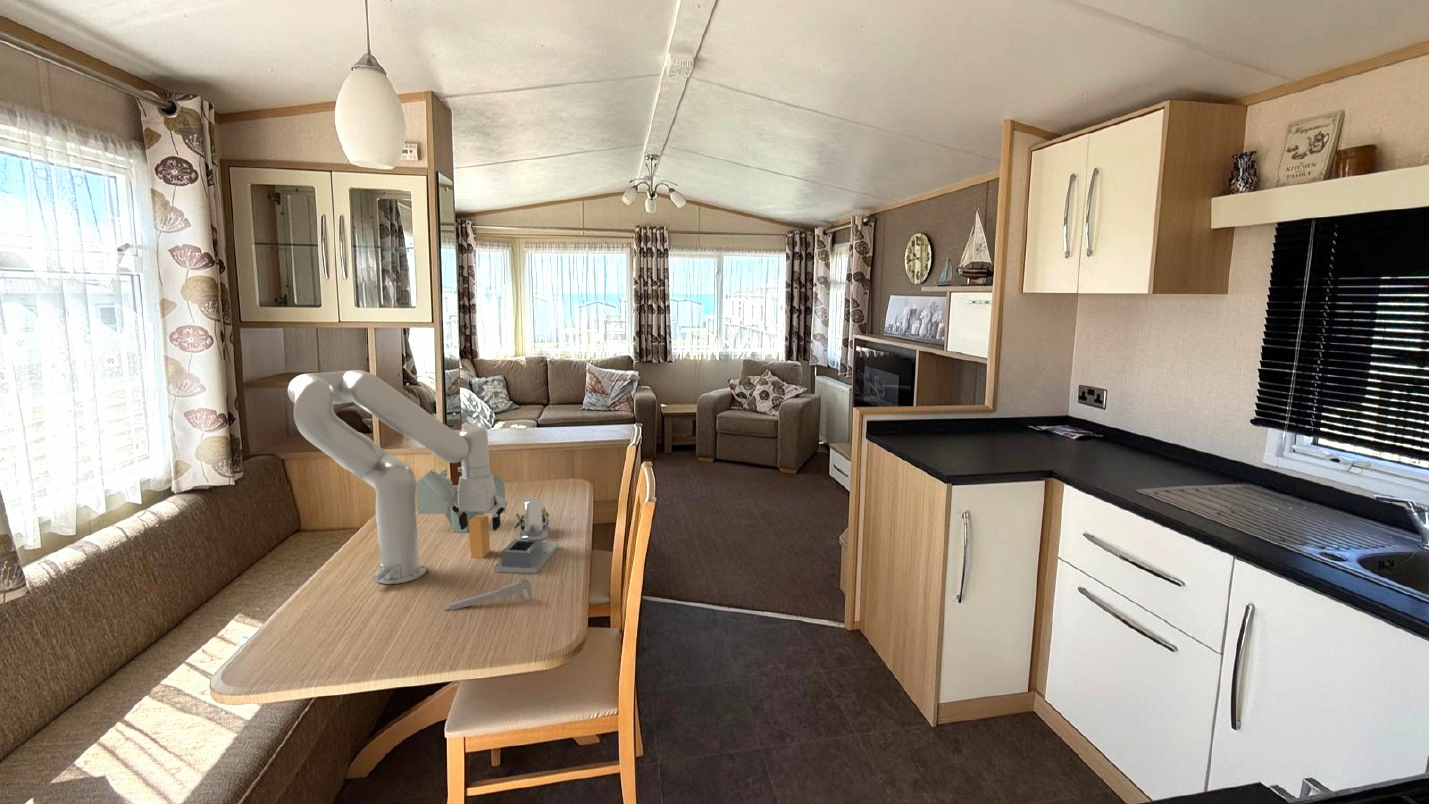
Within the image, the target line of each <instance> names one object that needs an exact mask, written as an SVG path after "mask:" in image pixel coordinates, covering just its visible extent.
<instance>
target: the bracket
mask: <svg viewBox="0 0 1429 804" xmlns="http://www.w3.org/2000/svg"><path fill="white" fill-rule="evenodd" d="M492 476H493V479H494V482H495V487H496V492H497V495H498V496H500V497H501V498H503V499H505V500H506V493H505V492H506V490H505V489H506V488H505V487H506V486H505V480H503V479H502V478H500V477H499V476H497V475H496V476H495V475H493V474H492ZM447 477H448V467H445V468H444V469H443V470H442V471H441V472H440V473H438V472H437V471H436V469H434V468H432V469H431V470H430V471H429V472H427V473H426V474H425V475H424V476H422V477H421V478H420V479H418V480H416V499H417V500H416V501H417V513H418V515H444V516H445V518H446V519H447V521H448V522H449V524H450V526H451V529H452V533H469V520H470V519H472V518H473V517H475V516H476V515H485V514H491V512H490V511H489V512H466V511H465V513H467V520H468V526H467V527H466V528H465V529H463V530H461V528H460V525H459V516H457V514H456V513H455V512H454V511H453V510H452V507H451V505H450V504H449V500H451V499H453V498H455V497H457V496H458V485H456V484H455V485H453V484H454V483H453V481H452V480H451V479H450V478H447ZM456 504H457V505H458V501H456ZM497 507H498V508H499V509H500V507H501V504H500V503H498V502H497ZM506 510H507V508H506V509H505V510H504V511H503V512H502V513H501V514H505V513H507V511H506Z"/></svg>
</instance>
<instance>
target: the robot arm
mask: <svg viewBox="0 0 1429 804" xmlns="http://www.w3.org/2000/svg"><path fill="white" fill-rule="evenodd" d="M287 395H288V397H289V400H290V401H291V402H292V403H293V404H294V405H293V419H294V420H293V421H294V424H295V427H296V428H297V430H298V431H299V433H300V434H301V436H302V437H304V438H305V440H307V441H308V442H309V443H310V444H312V445H313V446H315V447H316V448H317V449H319V450H320V451H322V452H323V453H324V454H325V455H327V456H328V457H330V458H331V459H333V461H335V462H336V463H337V464H338V465H339V466H340V467H342V468H343V469H344V470H347V471H349V472H350V473H351V474H353V475H355V476H356V477H358V478H359V479H360V480H362V481H364V482H365V483H367V484H368V485H369V486H371V487H372V488H373V489H374V490H375V521H376V528H377V529H376V532H377V542H378V554H379V564H380V565H378V568H379V569H378V570H377V571H376V572H375V573H374V574H373V575H372V576H371V581H372V582H373V583H379V584H382V585H383V584H384V585H398V584H404V583H407V582H410V581H411V582H412V581H414V580H416V579H419V578H421V577H423V576H424V574H426V572H427V566H426V564H424V563H423V562H421V561H420V551H419V538H418V526H417V524H418V523H417V514H416V512H417V511H416V492H417V488H416V482H417V479H416V475H415V472H414V470H413V469H412V467H410V466H409V464H408V463H406V462H404V461H402V460H401V459H399V458H398V457H395V456H394V455H392V454H391V453H389V452H388V451H387V450H385V449H384V448H383V447H381V446H380V445H379V444H377V443H376V442H374V440H373V439H371V438H370V437H369V436H367V435H366V434H364V433H362V432H359V431H357V430H356V429H355V428H353V427H352V426H350V425H349V424H348V423H346V421H345V420H343V419H341V418H340V417H339V416H337V414H336V412H335V410H334V405H339V404H347V403H354V404H355V405H357V406H359V408H361V409H362V410H364V411H366V412H367V413H369V414H370V415H372V416H373V417H375V418H376V419H378V420H379V421H380V422H382V423H384V424H385V425H386V426H388V427H389V428H391V429H393V430H394V431H396V432H397V433H399V434H400V435H403V436H405V437H406V438H410V439H411V440H414V441H415V442H417V443H418V444H420V445H422V446H423V447H425V448H427V449H428V450H429V452H431V453H430V454H433V455H434V456H435V457H438V458H439V459H441V460H442V461H444V462H447V463H449V464H450V463H451V464H457V463H461V466H459V467H457V472H460V474H461V475H460V476H459V479H458V496H457V497H455V498H453V499H451V500H449V504H450V505H451V507H452V510H453V511H454V512H455V513H456V514H457V516H459V525H460V528H461V530H463V529H465V528H466V527H467V526H468V520H467V513H465V511H466V512H489V511H490V512H491V513H490V514H491V515H492V516H493V517H491V523H492V531H494V532H495V531H497V530H498V529H499V528H500V527H501V525H502V523H501V515H502V514H503V513H502V512H503V511H504V510H505V509H506V510H507V506H508V503H509V500H507V499H506V498H505V499H503V498H501V497H500V496H498V495H497V492H496V487H495V482H494V479H493V476H494V475H493V474H492V473H491V467H490V453H489V438H488V437H489V435H488V431H487V430H486V428H483V427H468V428H464V429H458V430H455V429H452V428H451V427H450V426H448V425H446V424H445V423H443V422H442V421H440V420H438V419H437V418H436V417H435V416H433V415H432V414H430V413H429V412H427V411H426V410H425V409H424V408H423V407H421V406H419V405H418V404H417V403H415V402H414V401H412V400H411V399H409V398H408V397H407V396H405V395H404V394H403V393H401V392H399V391H398V390H397V389H396V388H394V387H393V386H391V385H390V384H389V383H387V382H385V381H384V380H383V379H382V378H380V377H378V376H377V375H375V374H373V373H371V372H368V371H366V370H362V369H361V370H360V369H353V370H342V371H341V370H340V371H327V372H326V371H323V372H312V373H311V372H310V373H309V372H307V373H303V374H300V375H297V376H296V377H294V378H293V379H292V380H291V381H290V382H289V384H288V387H287ZM492 475H493V476H492ZM456 501H458V505H457V504H456ZM497 502H498V503H500V504H501V507H500V509H499V508H498V507H497Z"/></svg>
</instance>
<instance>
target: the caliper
mask: <svg viewBox="0 0 1429 804" xmlns="http://www.w3.org/2000/svg"><path fill="white" fill-rule="evenodd" d="M523 577H524V578H521V577H519V581H518V582H515V583H511V584H508V585H505V586H502V587H500V589H497V590H494V591H493V590H492V591H490V592H486V593H483V594H479V595H475V596H472V597H468V598H465V599H461V600H458V601H455V602H451V603H449V605H448V606H445V607H444V609H443V611H448V610H450V611H451V610H452V611H453V610H458V609H461V608H465V607H469V606H472V605H476V604H479V603H482V602H486V601H490V600H493V599H497V598H500V597H502V599H506V598H510V597H512V596H514V595H515V594H516V595H517V596H518V597H519V598H520V600H521V601H522V602H525V601H526V599H525V594H524V592H523V591H524V590H526V593H527V595H528V598H529V600H530V601H532V599H533V593H532V591H533V589H532V585H531V582H530V580H529V579H527V578H526V576H523Z"/></svg>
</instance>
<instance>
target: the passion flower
mask: <svg viewBox="0 0 1429 804" xmlns="http://www.w3.org/2000/svg"><path fill="white" fill-rule="evenodd" d="M515 516H516V519H517V520H518V521H517V523H516V524H515V525H514V527H513V529H514V530H516V528H518V527H519V526H520V529H519V535H520V534H521V533H522V532H523V531H524V530H525V514H521V515H520V514H519V513H515ZM520 516H521V517H520ZM549 518H550V514H549V512H548V511H547V510H546V508H545V507H542V529H543V530H546V531H547V529H549V528H550V526H549V523H550V519H549Z"/></svg>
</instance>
